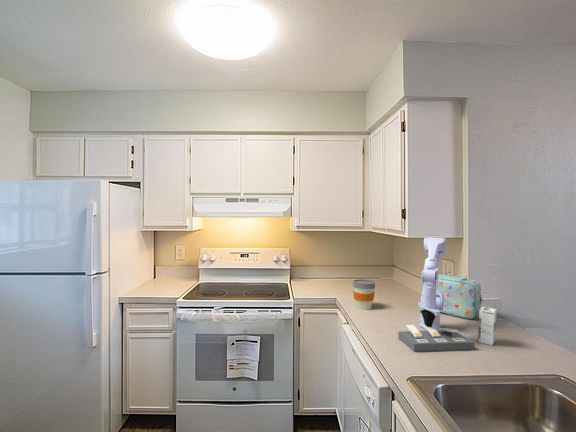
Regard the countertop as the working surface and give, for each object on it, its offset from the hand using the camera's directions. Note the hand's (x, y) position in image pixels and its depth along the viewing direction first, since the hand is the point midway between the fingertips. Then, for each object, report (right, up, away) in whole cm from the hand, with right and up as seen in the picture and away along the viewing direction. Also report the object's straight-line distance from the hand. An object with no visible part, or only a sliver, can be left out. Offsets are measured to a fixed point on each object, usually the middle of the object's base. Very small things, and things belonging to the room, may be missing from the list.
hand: (428, 327), depth 147 cm
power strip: (+1, -5, -5) cm, 7 cm away
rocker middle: (0, -1, -3) cm, 3 cm away
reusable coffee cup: (-18, -4, +46) cm, 50 cm away
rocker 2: (+8, -1, -2) cm, 8 cm away
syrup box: (+24, -6, -2) cm, 25 cm away
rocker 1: (-8, 0, -4) cm, 8 cm away
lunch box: (+30, -5, +37) cm, 47 cm away
